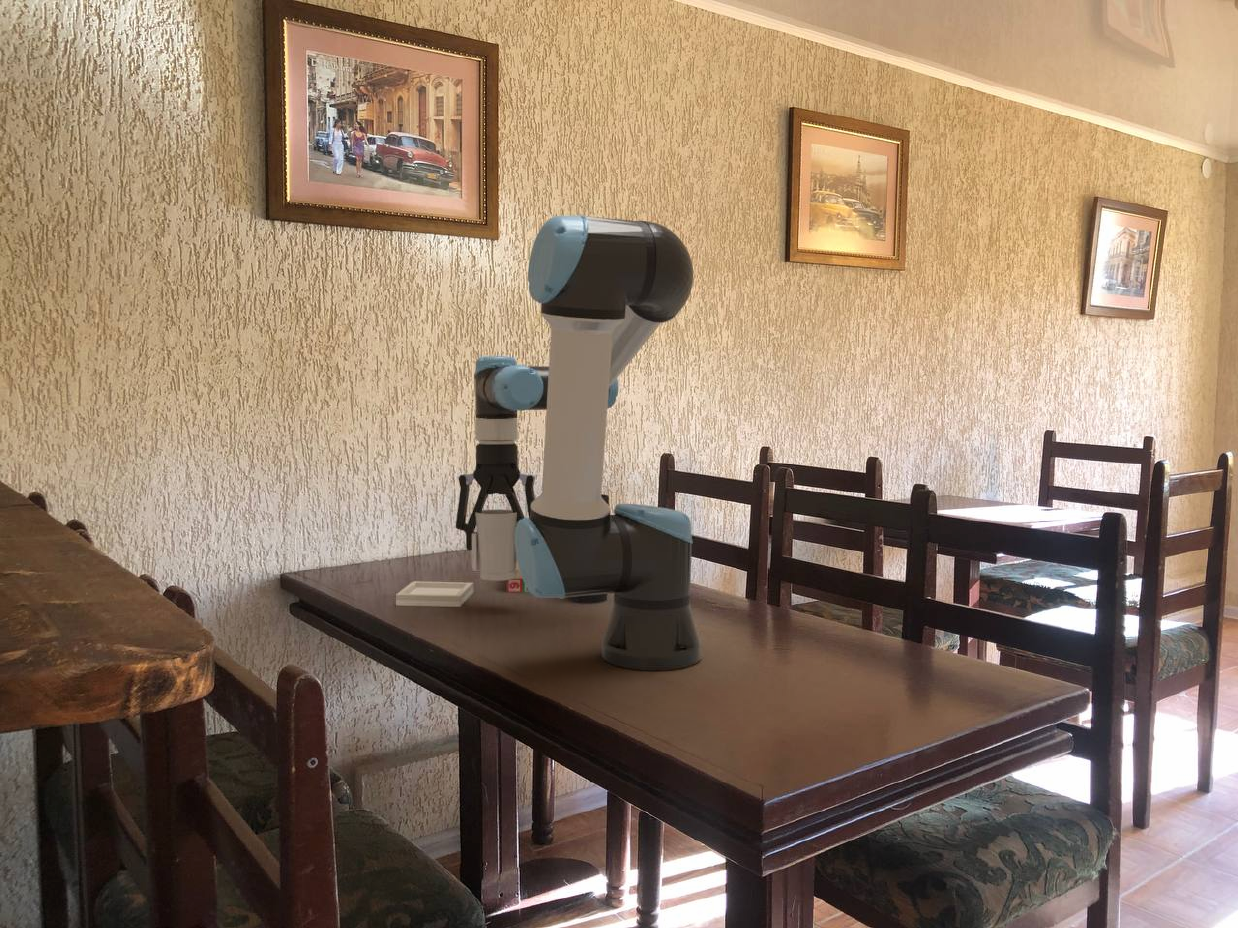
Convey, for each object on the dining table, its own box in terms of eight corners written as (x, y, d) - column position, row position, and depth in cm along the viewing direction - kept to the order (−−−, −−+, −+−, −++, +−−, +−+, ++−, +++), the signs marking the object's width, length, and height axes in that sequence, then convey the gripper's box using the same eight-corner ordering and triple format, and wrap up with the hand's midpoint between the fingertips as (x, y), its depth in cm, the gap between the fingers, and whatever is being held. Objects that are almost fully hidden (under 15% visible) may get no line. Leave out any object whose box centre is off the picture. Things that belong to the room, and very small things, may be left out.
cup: (512, 582, 174) (511, 514, 174) (469, 580, 176) (468, 513, 175) (525, 574, 182) (524, 509, 181) (484, 572, 184) (483, 509, 183)
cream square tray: (460, 606, 182) (460, 596, 182) (395, 605, 182) (395, 594, 182) (473, 592, 194) (473, 582, 193) (413, 591, 194) (413, 581, 194)
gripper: (555, 441, 181) (555, 565, 182) (445, 441, 182) (447, 564, 183) (550, 443, 173) (550, 572, 175) (436, 443, 174) (437, 571, 176)
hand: (497, 568), depth 179 cm, fingers closed on cup, 7 cm apart
